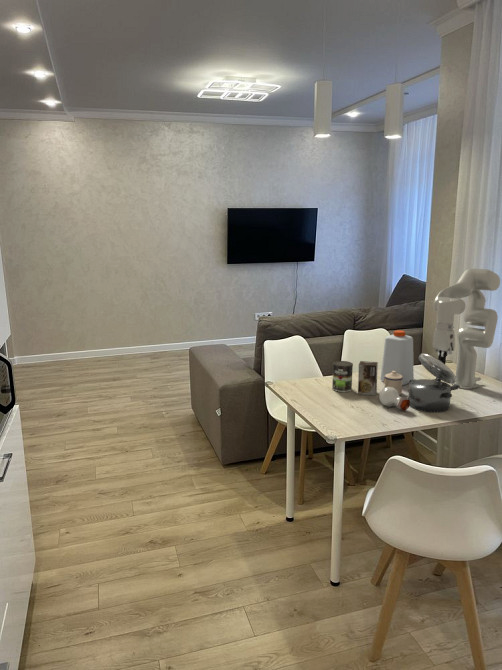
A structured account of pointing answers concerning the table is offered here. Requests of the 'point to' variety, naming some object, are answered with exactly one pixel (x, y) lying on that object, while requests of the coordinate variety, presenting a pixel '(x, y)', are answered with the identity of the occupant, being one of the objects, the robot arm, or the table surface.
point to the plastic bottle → (398, 356)
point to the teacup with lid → (394, 381)
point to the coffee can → (342, 376)
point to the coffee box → (367, 378)
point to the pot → (430, 395)
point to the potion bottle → (393, 398)
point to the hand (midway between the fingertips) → (441, 364)
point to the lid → (437, 368)
